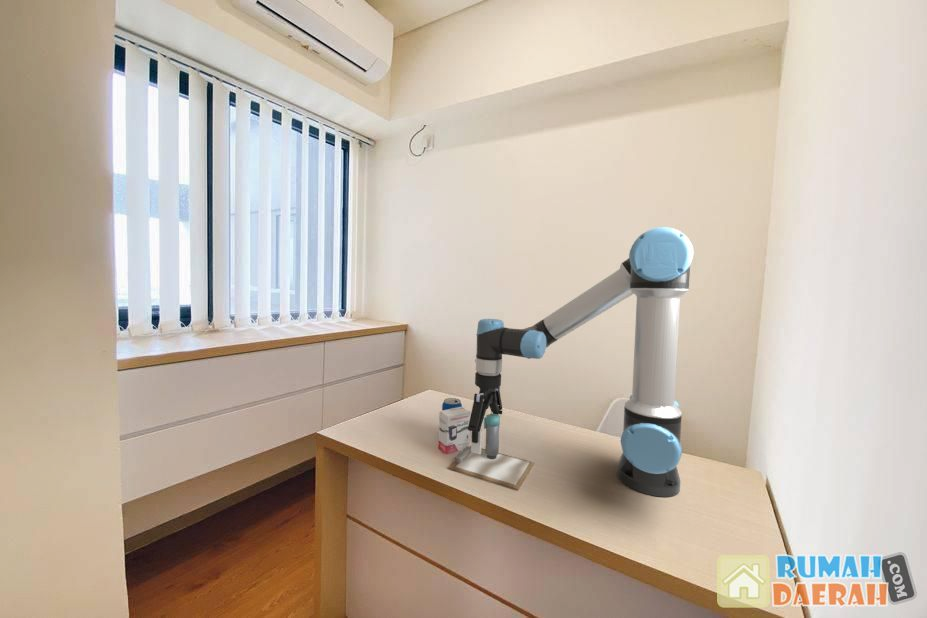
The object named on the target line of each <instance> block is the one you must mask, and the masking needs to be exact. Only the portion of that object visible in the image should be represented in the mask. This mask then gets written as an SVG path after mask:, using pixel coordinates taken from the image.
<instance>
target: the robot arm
mask: <svg viewBox="0 0 927 618" xmlns="http://www.w3.org/2000/svg"><path fill="white" fill-rule="evenodd" d="M693 258H694V247H693V244H692V242H691V240H690V239H689V238H688V236H687V235H685V234H684V233H683V232H681V231H680V230H678V229H675V228H673V227H666V226H664V227H663V226H662V227H654V228H651V229H649V230H645V232H643V233H642V234H640V235H639V236H638V237H637V238H636V239H635V240H634V242H633V244H632V245H631V248H630V249H629V255H628V258H627V259H626V260H624V261H623V262H621V263H620V266H619V269H618V270H616V271H614V272H612V273H611V274H610V275H609V276H607V277H605V278H604V279H603V280H601V281H599V282H598V283H595V284H594V285H593V286H591V287H590V288H588V289H587V290H586V291H584V292H582V293H581V294H580V295H578V296H576V297H574V298H573V299H571V300H570V301H568V302H567V303H566V304H564V305H563V306H561V307H559V308H558V309H556V310H555V311H554V312H552V313H550V314H549V315H548V316H546V317H544V318H543V319H541V320H539V321H538V322H537V323H534V324H533V325H531V326H529V327H525V328H522V329H521V328H520V329H519V328H509V327H505V324H504V320H502V319H497V318H496V319H495V318H482V319H480V320H479V321H478V322H477V330H476V355H475V360H474V362H475V371H476V372H475V374H474V375H475V376H474V384H475V386H476V387H478V388H479V391H478V393H474V394H473V403H472V407H471V411H470V412H471V414H470V421H469V425H468V430H469V431H470V432H471V437H470V440H471V441H470V446H471V452H472V453H476V454H479V455H480V454H481V448H482V435H483V433H482V429H481V428H482V425H483V423H484V418H485V417H486V416H485V415H486V412H487V410H489V409H490V411H491V413H490V414H496V415H503V403H502V398H501V391H500V389H501V385H502V374H501V373H502V371H503V370H502V369H503V368H502V367H503V355H504V356H505V355H508V356H514V357H519V358H524V359H525V358H526V359H529V360H530V359H536V360H537V359H538V360H539V359H542V358H543V357H544V354H545V353H546V350H547V348H548V347H549V346H550V345H552V344H554V343H555V342H558V340H560V339H562V338H563V337H565V336H566V335H568V334H570V333H571V332H573V331H574V330H576V329H578V328H580V327H581V326H583V325H584V324H586V323H588V322H590V321H592V320H593V319H594V318H596V317H597V316H599V315H601V314H602V313H605V312H607V311H608V310H610V309H611V308H612V307H615V306H616V305H618V304H619V303H621V302H623V301H624V300H626V299H627V298H629V297H630V296H632V295H635V297H636V307H635V308H636V309H635V325H634V326H635V327H634V328H635V329H634V331H635V332H634V345H633V347H634V350H633V351H634V352H633V367H632V368H633V371H632V389H631V391H632V394H631V395H630V396H629V399H628V400H627V401H626V402H624V410H623V412H624V413H623V429H622V430H623V431H622V434H621V437H620V445H621V450H622V454H621V456H620V458H619V459H618V462H617V465H616V475H617V478H618V479H619V480H620V482H622V483H623V484H624V485H626V486H628V487H629V488H630V489H631V488H632V489H633V490H635V491H637V492H640V493H643V494H645V495H650V496H654V497H662V498H663V497H664V498H666V497H667V498H669V497H674V496H677V495H678V494H679V493H680V492H681V491H680V490H681V478H680V474H679V471H678V465H679V464H680V463H679V462H680V460H681V458H682V454H683V449H682V446H681V435H682V433H681V432H682V430H681V429H682V415H683V414H682V413H683V412H682V410H681V409H680V404H679V403H678V401H676V399H675V398H676V397H675V395H676V383H677V382H676V379H677V378H676V377H677V361H678V358H677V357H678V345H679V343H678V342H679V324H680V309H681V308H680V306H681V297H683V295H685V294H686V293H687V292H688V291H689V290H690V277H691V264H692V261H693Z"/></svg>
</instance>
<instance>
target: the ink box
mask: <svg viewBox="0 0 927 618" xmlns="http://www.w3.org/2000/svg"><path fill="white" fill-rule="evenodd" d="M471 412H472V411H469V410H468V409H466V408H465V407H464V406H462V407H457V408H452V409H447V410H442V409H441V411H439V420H438V421H439V424H438V449H439V450H440V451H441V452H442V453H443V454H445V455H448V454H452V453H453V454H454V453H456V452H458V451H460V452H461V451H462V450H463V449H464V448H465V447H466V446H468V447H470V434H471V433H470V432H471V431H469V430H468V425H469V421H470V416H471Z"/></svg>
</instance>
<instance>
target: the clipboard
mask: <svg viewBox="0 0 927 618" xmlns="http://www.w3.org/2000/svg"><path fill="white" fill-rule="evenodd" d="M534 465H535V463H534V461H530V460H526V459H523V458H520V457H516V456H512V455H509V454H505V453H501V452H498V455H497V456H496V459H489V458H487V454H486V453H485V448H483V447H481V454H480V455H479V454H476V453H472V452H471V445H469V447H468V446H466V447H465V448H464V449H463V450H460V452H459V453H457V454H456V455H455V456H454V459H453V462H452V463H450V464H449V465H448V466H447V470H451V471H453V472H456V473H460V474H463V475H465V476H469V477H472V478H476V479H479V480H482V481H484V482H489V483H493V484H496V485H498V486H502V487H504V488H509V489H511V490H514V491H517V492H518V491H519V490H520V488H521V486H522V484H523V483H524V481H525V480H526V478H527V476H528V474H529V473H530V471H531V470H532V467H533V466H534Z"/></svg>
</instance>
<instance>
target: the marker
mask: <svg viewBox="0 0 927 618" xmlns="http://www.w3.org/2000/svg"><path fill="white" fill-rule="evenodd" d="M500 422H501V416H500V414H498V415H496V414H491V413H489V414H487V415H486V416H484V419H483V429H485V448H484V449H485V453H486V454H487V458H489V459H496V456H497V455H498V453H499V448H500V447H499V445H500V444H499V443H500V424H501V423H500Z"/></svg>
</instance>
